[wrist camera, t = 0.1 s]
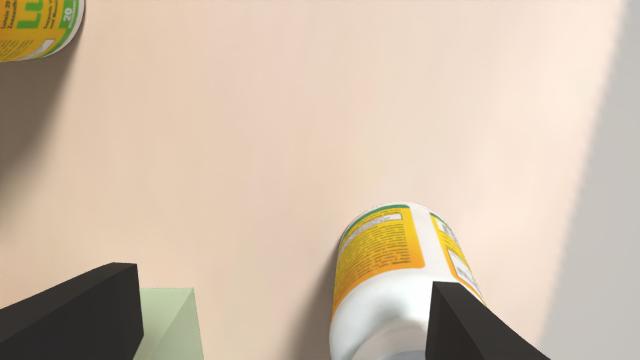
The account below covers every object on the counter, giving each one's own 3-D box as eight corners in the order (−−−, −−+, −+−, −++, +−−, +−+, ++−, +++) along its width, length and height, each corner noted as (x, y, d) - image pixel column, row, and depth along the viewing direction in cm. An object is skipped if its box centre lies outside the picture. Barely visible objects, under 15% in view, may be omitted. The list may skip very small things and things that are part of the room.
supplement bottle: (475, 219, 21) (564, 366, 12) (430, 318, 23) (479, 513, 14) (359, 182, 21) (359, 301, 12) (322, 284, 23) (298, 458, 13)
